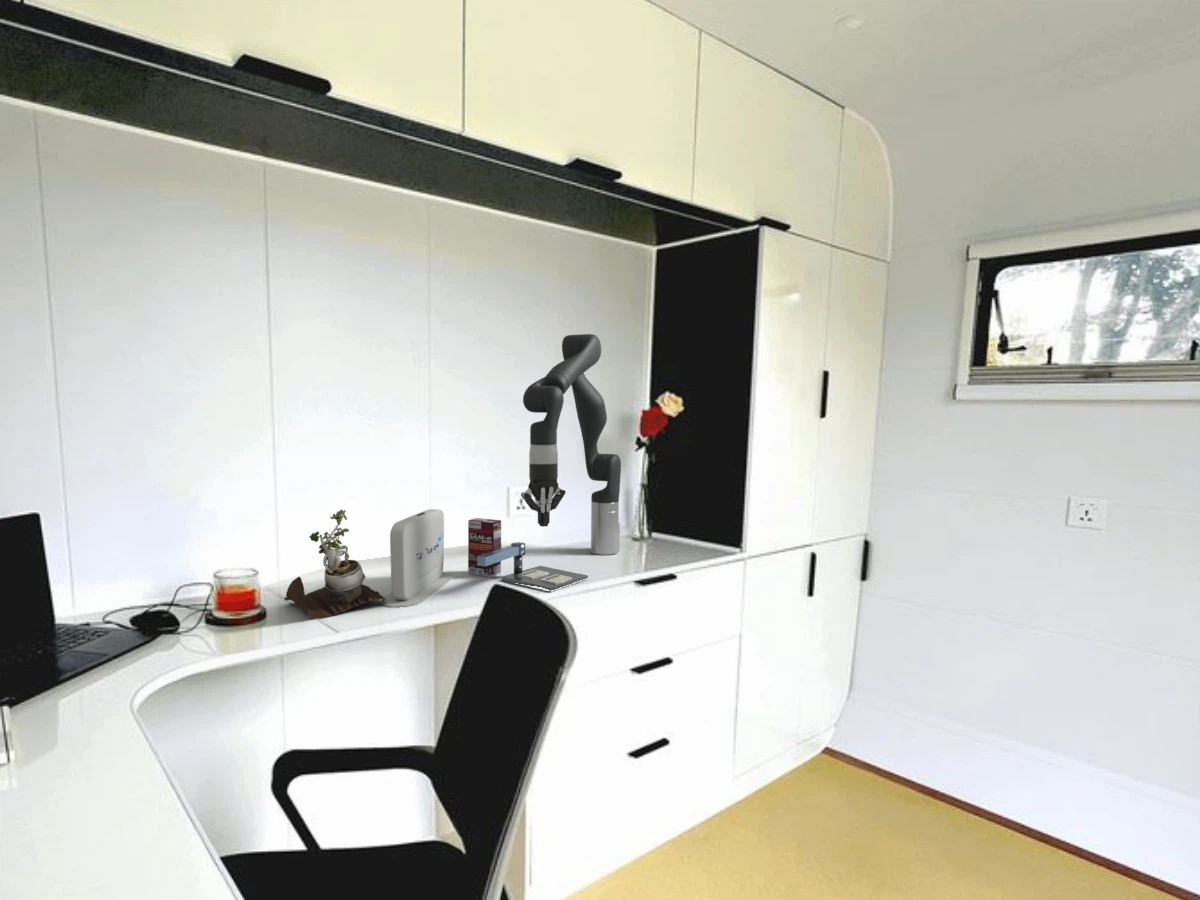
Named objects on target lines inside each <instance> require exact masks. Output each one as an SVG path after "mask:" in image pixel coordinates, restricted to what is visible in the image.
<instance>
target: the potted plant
mask: <svg viewBox="0 0 1200 900" xmlns="http://www.w3.org/2000/svg"><path fill="white" fill-rule="evenodd" d="M345 513H347V511H346V509H340V510H339V511H337V512H336V513H333V514H332V515H331V516H330V517H329V518H330V519H331V520H336V523H337V524H336V526H335V528H334V529H333V530H332V531H331V532H330V533H329V532H328V531H326V532H324V534H320V532H319V531H316V532H312V533H311V535H310V536H309V537H308V539H309V538H310V540H311V542H313V541H314V542H315V543H318V542H319V539H320V545H319V546H318V549H320V550H318V554H320V555H321V554H324V556H323V560H322V562H323V563H322V564H323V567H324V568H325V569H324V586H323V587H321V588H319V589H316V590H313V591H310V592H308V593H305V587H304V583H303V579H302V578H301V576H297V577H296V578H294V579H293V580H292V581H291V583H289V585H288V587H287V590H286V595H285V596H284V597H283V599H284V600H283V601H292V602H293V603H295V604H297V606H299V607H300V608H301V609H302V611H304V612H305V613H306V614H307V616H308V617H309V618H311V619H313V620H314V619H317V618H318V619H324V618H327V617H333V616H335V615H338V614H340V613H342V612H343V613H344V612H347V611H348V610H350V609H354V608H355V607H359V606H361V605H365V604H368V603H369V602H370V601H371V602H374V601H377V600H379V601H380V600H382V599H383V600H386V599H385V598H386V597H384V596H382V595H381V594H380V592H379V591H377V590H374V589H372V588H371V587H370V586H368V585H366V584H363V583H364V580H365V579H366V575H365V573H364V570H363V568H362V566H361V563H360V562H359V561H357V560H355V559H349V558H350V555H349V553H348V552H349V548H348V545H345V544H343V545H342V541H341V540H340V536H342V537H344V536H345V533H347V532H350V529H349V528H347V527H346V528H342V527H339V526H341V523H342V521H343V519H344V520H345V521H347V520H348V517H347V516H346V514H345ZM336 531H337V532H336ZM323 535H324V536H323ZM340 545H341V546H340ZM342 556H344V559H343V560H341V557H342ZM387 601H388V600H387Z"/></svg>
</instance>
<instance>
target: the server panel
mask: <svg viewBox="0 0 1200 900" xmlns="http://www.w3.org/2000/svg"><path fill="white" fill-rule="evenodd" d="M586 578H588V579H589V575H587V574H582V573H577V572H572V571H570V570H569V571H567V570H563V569H557V568H553V567H549V566H544V565H538V566H534V567H530V568H526V569H523V555H522V556H514V557H513V573H512V572H511V573H509V574H506V575H502V576H501V581H502V582H505V583H510V584H514V585H516V584H515V583H518V584H524V585H530V586H537V587H542V588H545V589H548V590H550V591H551V590H555V589H558V588H560V587H563V586H566V585H569V584H572V583H574V582H577V581H580V580H583V579H586Z"/></svg>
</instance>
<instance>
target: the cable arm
mask: <svg viewBox="0 0 1200 900" xmlns="http://www.w3.org/2000/svg"><path fill="white" fill-rule="evenodd" d="M525 555H526V543H525V542H520V541H519V542H517V541H516V542H512V543H510V545H509V546H505V547H501V549H498V550H495V551H492V552H489V553H486V554H483V555H480V556H477V565H479V566H488V565H491V564H494V563H497V562H500V561H501V562H502V561H505V560H507V559H511V558H514V556H522V557H523V556H525Z"/></svg>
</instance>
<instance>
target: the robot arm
mask: <svg viewBox="0 0 1200 900" xmlns="http://www.w3.org/2000/svg"><path fill="white" fill-rule="evenodd" d="M561 352H562V357H563V361H562V360H561V362H559V363H558V364H557V363H556V365H554V366H553V367H552V368H551V369H550V370H549V371H548V373H547V374H546V375H545V376H544V377H542V378H540V379H538V380H536V381H534V382H533V383H532V384H530V385H529V386H528V387H527V388H526V389H525V390H524V394H523V397H522V404H523V406H524V408H525V409H526V411H528V412H530V413H534V414H535V413H537V414H538V413H539V414H540V413H541V414H543V413H544V414H546V415H545V417H544V419H542V420H540V421H539V420H538V421H535V422H532V424H530V429H529V432H530V433H529V438H530V439H529V440H530V441H529V455H528V458H529V463H528V467H529V469H528V470H529V473H528V477H529V484H528V486H527V487H528V488H527V489H526V490H525V491H524V492H521V493H520V497H521V498H522V499H523V500H524V502H525V503H526V505H527V506H528V507H529V509H530V510H532V511H535V512H536V513H537V524H538V525H539V526H540V527H548V526H549V524H550V517H551V515H550V512H551V511H553V510H556V509H557V508H558V506H559V504H560V503H561V501H562V499H563V498H564V496H565V494H566V493H567V492H566V490H564V489H562V488H561V487H559V482H558V477H559V476H558V475H559V474H558V473H559V472H558V470H559V469H558V468H559V466H558V464H559V463H558V462H559V458H558V457H559V456H558V455H559V452H558V451H559V450H558V445H557V444H558V443H557V442H558V438H557V437H558V432H557V431H558V425H559V421H560V417H561V412H562V410H563V407H564V406H563V405H564V401H565V400H564V399H565V398H564V395H565V394H566V392H567V391H568V389H570V388H571V390H572V393H573V394H572V395H573V398H574V404H575V410H576V415H577V419H578V423H579V427H580V432H581V438H582V443H583V449H584V460H585V467H586V472H587V476H588V478H589V479H590V480H592V481H595V482H606V486H605V487H604V488H602V489H600V490H597V491H594V492H592V493H591V497H590V498H591V500H590V501H591V503H590V506H591V507H590V509H591V510H590V511H591V512H590V513H591V516H590V523H591V524H590V553H592V554H594V555H600V556H601V555H603V556H604V555H605V556H607V555H609V556H611V555H615V554H618V553H619V551H620V549H621V547H620V545H621V543H620V540H621V538H620V537H621V534H620V533H621V529H620V528H621V524H620V522H619V520H620V519H619V518H620V516H619V515H620V514H619V509H620V503H619V502H620V492H621V491H620V490H621V485H620V484H621V473H622V461H621V458H620V455H618V454H615V453H600V452H599V451H598V441H599V439H600V436H601V434H602V433H603V430H604V428H605V427H606V424H607V420H608V415H607V409H606V403H605V400H604V398H603V396H602V394H601V393H600V391H598V390H597V389H596V388H595V386H594V385H593V384H592V383H591V382H590V380H589V379H588V378H587V377H586V375H585V372H587V371H588V370H589V369H590V368H592V367H593V366H595V365H596V364H598V361H599V360H600V358H601V354H602V344H601V341H600V339H599V337H598V336H597V334H596V335H595V334H593V333H592V334H591V333H586V334H585V333H584V334H568V335H565V336H564V337H563V339H562V342H561ZM532 497H533V498H534V499H533V498H532Z"/></svg>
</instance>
